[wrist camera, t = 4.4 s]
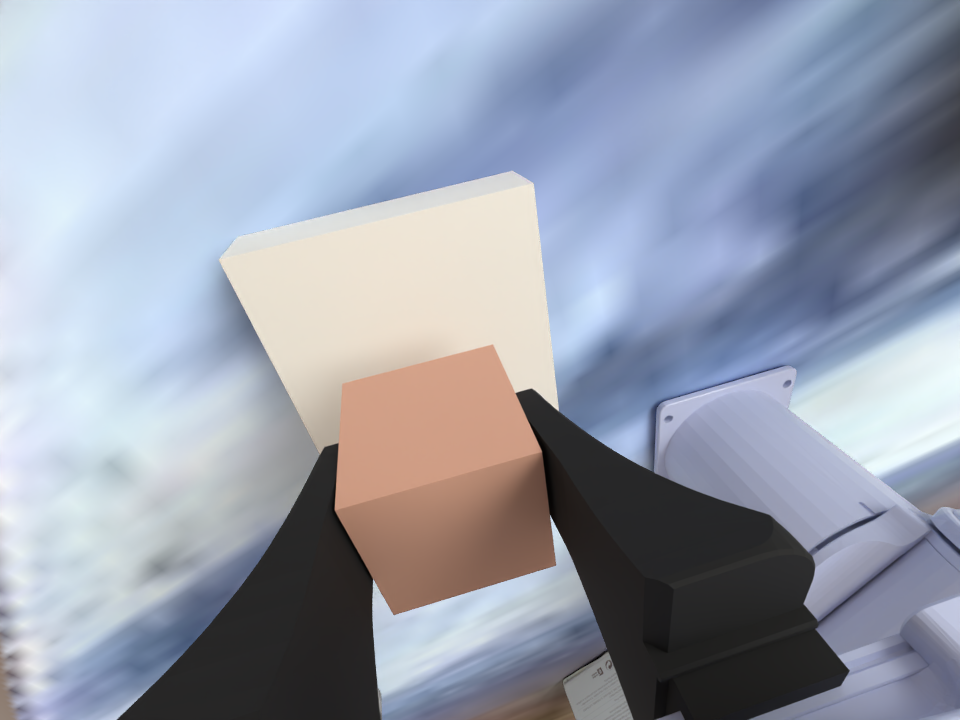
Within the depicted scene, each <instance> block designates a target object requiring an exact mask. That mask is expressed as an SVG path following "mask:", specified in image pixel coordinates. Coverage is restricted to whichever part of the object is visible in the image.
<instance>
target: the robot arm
mask: <svg viewBox="0 0 960 720" xmlns="http://www.w3.org/2000/svg"><path fill="white" fill-rule="evenodd" d="M796 374H797V371H796V369H794V368H793V367H791V366H783V367H780V368H777V369H773V370H770V371H766V372H763V373H760V374H756V375H753V376H749V377H746V378H742V379H739V380H736V381H732V382H729V383H725V384H722V385H718V386H715V387H712V388H708V389H705V390H701V391H698V392H695V393H691V394H688V395H684V396H681V397H677V398H674V399H671V400H667V401H664V402H662V403H661V404H660V405H659V406H658V407H657V411H656V435H655V459H654V472H652V471H650V470H648V469H646V468H644V467H642V466H640V465H638V464H636V463H634V462H632V461H631V460H629V459H627V458H625V457H624V456H622V455H620V454H618V453H617V452H615V451H614V450H612V449H610V448H609V447H607V446H606V445H604V444H603V443H601V442H600V441H598V440H597V439H595V438H594V437H592V436H591V435H589V434H588V433H586V432H585V431H584V430H582V429H581V428H580V427H578V426H577V425H576V424H574V423H573V422H572V421H570V420H569V419H568V418H566V417H565V416H564V415H563V414H561V413H560V412H559V411H558V410H557V409H555V408H554V407H553V406H552V405H551V404H550V403H548V402H547V401H546V400H545V399H544V398H543V397H542V396H541V395H540V394H539V393H538V392H536V391H535V390H534V389H532V388H531V389H527V390H524V391H520V392H517V393H515V394H516V396H517V398H518V400H519V402H520V405H521V407H522V409H523V411H524V413H525V415H526V418H527V420H528V422H529V424H530V426H531V429H532V431H533V433H534V435H535V437H536V440H537V442H538V444H539V446H540V448H541V451H542V456H543V464H544V472H545V480H546V488H547V496H548V504H549V512H550V515H551V517H552V519H553V521H554V523H555V525H556V527H557V529H558V531H559V533H560V535H561V537H562V539H563V541H564V543H565V545H566V547H567V549H568V551H569V553H570V555H571V558H572V560H573V562H574V565H575V567H576V570H577V572H578V575H579V577H580V580H581V582H582V585H583V587H584V590H585V592H586V595H587V597H588V600H589V602H590V605H591V608H592V610H593V613H594V615H595V618H596V621H597V623H598V626H599V628H600V631H601V633H602V636H603V639H604V641H605V644H606V647H607V649H608V652H609V655H610V657H611V660H612V663H613V665H614V668H615V671H616V673H617V676H618V679H619V682H620V684H621V687H622V690H623V692H624V695H625V698H626V701H627V703H628V706H629V709H630V712H631V714H632V717H633V720H960V509H956V510H955V509H952V508H949V507H942V508H939V509H938V511H937V512H936V513H935V514H934V515H933V516H932V515H929V514H926V513H924V512H921V511H920V510H919V509H917V508H916V507H915V506H913V505H912V504H911V503H909V502H908V501H907V500H906V499H904V498H903V497H902V496H900V495H899V494H898V493H896V492H895V491H894V490H893V489H891V488H890V487H889V486H887V485H886V484H885V483H883V482H882V481H881V480H879V479H878V478H877V477H876V476H874V475H873V474H872V473H870V472H869V471H868V470H866V469H865V468H864V467H863V466H861V465H860V464H859V463H857V462H856V461H855V460H853V459H852V458H851V457H850V456H848V455H847V454H846V453H844V452H843V451H842V450H840V449H839V448H838V447H837V446H835V445H834V444H833V443H831V442H830V441H829V440H827V439H826V438H825V437H824V436H822V435H821V434H820V433H818V432H817V431H816V430H814V429H813V428H812V427H810V426H809V425H808V424H807V423H805V422H804V421H803V420H801V419H800V418H799V417H797V416H796V415H795V414H794V413H792V412H791V411H790V410H788V407H789V403H790V399H791V394H792V390H793V386H794V382H795V378H796ZM665 417H666V418H665ZM338 447H339V443H337V444H333V445H330V446H326V447H324V449H323V450H322V452H321V454H320V456H319V458H318V460H317V462H316V464H315V466H314V468H313V470H312V472H311V474H310V476H309V478H308V480H307V481H306V483H305V485H304V487H303V489H302V491H301V493H300V495H299V497H298V498H297V500H296V502H295V504H294V506H293V508H292V509H291V511H290V513H289V515H288V516H287V518H286V520H285V521H284V523H283V525H282V526H281V528H280V530H279V531H278V533H277V535H276V536H275V538H274V539H273V541H272V543H271V544H270V546H269V547H268V549H267V551H266V552H265V554H264V555H263V557H262V558H261V560H260V561H259V562H258V564H257V565H256V567H255V568H254V569H253V571H252V572H251V574H250V575H249V576H248V578H247V579H246V580H245V582H244V583H243V584H242V586H241V587H240V588H239V590H238V591H237V592H236V593H235V594H234V596H233V597H232V598H231V599H230V601H229V602H228V603H227V604H226V605H225V607H224V608H223V609H222V610H221V612H220V613H219V614H218V615H217V616H216V618H215V619H214V620H213V621H212V623H211V624H210V625H209V626H208V627H207V628H206V629H205V631H204V632H203V633H202V634H201V635H200V636H199V637H198V638H197V639H196V641H195V642H194V643H193V644H192V645H191V646H190V647H189V648H188V649H187V650H186V652H185V653H184V654H183V655H182V656H181V657H180V658H179V659H178V660H177V661H176V662H175V663H174V664H173V665H172V666H171V667H170V668H169V669H168V670H167V671H166V672H165V673H164V675H163V676H162V677H161V678H160V679H159V680H158V681H157V682H156V683H155V684H153V685H152V686H151V687H150V688H149V689H148V690H147V691H146V692H145V693H144V694H143V695H142V696H141V697H140V698H139V699H138V700H137V701H136V702H135V703H134V704H133V705H132V706H131V707H130V708H129V709H128V710H127V711H126V712H124V713H123V714H122V715H121V716H120V717H119V718H118V719H117V720H381V718H380V709H379V698H378V687H377V676H376V665H375V652H374V638H373V624H372V595H373V577H372V576H371V574H370V572H369V570H368V568H367V567H366V565H365V563H364V561H363V560H362V558H361V556H360V554H359V553H358V551H357V549H356V547H355V545H354V544H353V542H352V540H351V538H350V537H349V535H348V533H347V531H346V530H345V528H344V526H343V524H342V522H341V521H340V519H339V517H338V515H337V514H336V512H335V497H336V480H337V464H338Z"/></svg>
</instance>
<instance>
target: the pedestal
mask: <svg viewBox="0 0 960 720" xmlns="http://www.w3.org/2000/svg"><path fill="white" fill-rule="evenodd" d="M219 261H220V263H221V265H222V267H223V269H224V271H225V273H226V275H227V277H228V279H229V281H230V283H231V284H232V286H233V288H234V290H235V292H236V294H237V296H238V298H239V300H240V302H241V304H242V306H243V308H244V309H245V311H246V313H247V315H248V317H249V319H250V321H251V323H252V325H253V327H254V329H255V331H256V333H257V335H258V336H259V338H260V340H261V342H262V344H263V346H264V348H265V350H266V352H267V354H268V356H269V358H270V360H271V361H272V363H273V365H274V367H275V369H276V371H277V373H278V375H279V377H280V379H281V381H282V383H283V385H284V386H285V388H286V390H287V392H288V394H289V396H290V398H291V400H292V402H293V404H294V406H295V408H296V410H297V412H298V413H299V415H300V417H301V419H302V421H303V423H304V425H305V427H306V429H307V431H308V433H309V435H310V437H311V438H312V440H313V442H314V444H315V446H316V448H317V450H318V452H319V454H321V452H322V450H323V449H324V447H326V446H330V445H333V444H337V443H339V431H340V414H341V397H342V384H343V383H347V382H350V381H354V380H358V379H362V378H366V377H370V376H373V375H377V374H381V373H385V372H389V371H393V370H396V369H400V368H404V367H408V366H412V365H416V364H419V363H423V362H427V361H431V360H435V359H439V358H442V357H446V356H450V355H454V354H458V353H462V352H465V351H469V350H473V349H477V348H481V347H485V346H488V345H492V344H493V345H494V348H495V350H496V352H497V354H498V356H499V359H500V361H501V363H502V365H503V367H504V369H505V372H506V374H507V376H508V378H509V380H510V383H511V385H512V387H513V389H514V391H515V393H517V392H520V391H524V390H527V389H531V388H532V389H534V390H535V391H536V392H538V393H539V394H540V395H541V396H542V397H543V398H544V399H545V400H546V401H547V402H548V403H550V404H551V405H552V406H553V407H554V408H555V409H557V410H558V411H559V408H558V399H557V390H556V381H555V372H554V363H553V354H552V345H551V336H550V327H549V318H548V309H547V300H546V291H545V282H544V273H543V264H542V255H541V246H540V237H539V228H538V219H537V210H536V201H535V192H534V183H532V182H531V181H529V180H527V179H526V178H524V177H522V176H520V175H519V174H517V173H515V172H514V171H509V172H505V173H501V174H497V175H493V176H489V177H484V178H480V179H476V180H472V181H468V182H464V183H459V184H455V185H451V186H447V187H443V188H439V189H434V190H430V191H426V192H422V193H418V194H413V195H409V196H405V197H401V198H397V199H393V200H388V201H384V202H380V203H376V204H372V205H368V206H363V207H359V208H355V209H351V210H347V211H342V212H338V213H334V214H330V215H326V216H322V217H317V218H313V219H309V220H305V221H301V222H297V223H292V224H288V225H284V226H280V227H276V228H272V229H267V230H263V231H259V232H255V233H251V234H246V235H242V236H238V237H237V238H236V239H235V241H234V242H233V243H232V244H231V245H230V247H229V248H228V249H227V250H226V251H225V253H224V254H223V255H222V256H221V257H220V259H219Z"/></svg>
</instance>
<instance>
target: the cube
mask: <svg viewBox="0 0 960 720" xmlns="http://www.w3.org/2000/svg"><path fill="white" fill-rule="evenodd" d="M335 512H336V514H337V515H338V517H339V519H340V521H341V522H342V524H343V526H344V528H345V530H346V531H347V533H348V535H349V537H350V538H351V540H352V542H353V544H354V545H355V547H356V549H357V551H358V553H359V554H360V556H361V558H362V560H363V561H364V563H365V565H366V567H367V568H368V570H369V572H370V574H371V576H372V577H373V579H374V581H375V583H376V584H377V586H378V588H379V590H380V592H381V593H382V595H383V597H384V599H385V600H386V602H387V604H388V606H389V607H390V609H391V611H392V613H393V615H396V614H399V613H402V612H405V611H409V610H412V609H415V608H418V607H422V606H425V605H428V604H432V603H435V602H438V601H441V600H445V599H448V598H451V597H454V596H458V595H461V594H464V593H468V592H471V591H474V590H477V589H481V588H484V587H487V586H491V585H494V584H497V583H500V582H504V581H507V580H510V579H513V578H517V577H520V576H523V575H527V574H530V573H533V572H536V571H540V570H543V569H546V568H549V567H553V566H556V561H555V553H554V545H553V536H552V528H551V520H550V512H549V504H548V496H547V488H546V480H545V472H544V464H543V456H542V451H541V448H540V446H539V444H538V442H537V440H536V437H535V435H534V433H533V431H532V429H531V426H530V424H529V422H528V420H527V418H526V415H525V413H524V411H523V409H522V407H521V405H520V402H519V400H518V398H517V396H516V394H515V391H514V389H513V387H512V385H511V383H510V380H509V378H508V376H507V374H506V372H505V369H504V367H503V365H502V363H501V361H500V359H499V356H498V354H497V352H496V350H495V348H494V345H493V344H492V345H488V346H485V347H481V348H477V349H473V350H469V351H465V352H462V353H458V354H454V355H450V356H446V357H442V358H439V359H435V360H431V361H427V362H423V363H419V364H416V365H412V366H408V367H404V368H400V369H396V370H393V371H389V372H385V373H381V374H377V375H373V376H370V377H366V378H362V379H358V380H354V381H350V382H347V383H343V384H342V397H341V414H340V431H339V447H338V464H337V480H336V497H335Z"/></svg>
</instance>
